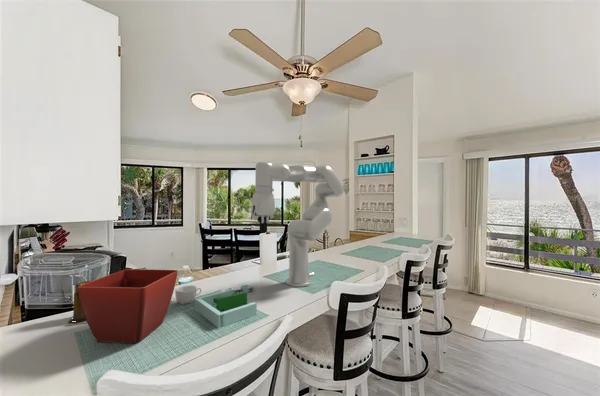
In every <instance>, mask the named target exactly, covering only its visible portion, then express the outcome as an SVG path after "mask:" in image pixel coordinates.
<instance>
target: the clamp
mask: <svg viewBox="0 0 600 396" xmlns="http://www.w3.org/2000/svg"><path fill="white" fill-rule="evenodd" d="M213 302H214V303H216V305H215V307H216V308H215V309H217V310H218V311H220V312H224V311H227V310H231V309H234V308H237V307H240V306H243V305H247V304H249V303H248V293H244V292H238V293H234V294H232V295H230V296H224V297H216V298H213Z"/></svg>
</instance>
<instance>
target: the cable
mask: <svg viewBox="0 0 600 396" xmlns="http://www.w3.org/2000/svg"><path fill="white" fill-rule="evenodd" d="M253 290H254V287H249V292H250V291H253ZM239 292H242V289H241V288H240V289H239V288H238V289H235V293H239Z"/></svg>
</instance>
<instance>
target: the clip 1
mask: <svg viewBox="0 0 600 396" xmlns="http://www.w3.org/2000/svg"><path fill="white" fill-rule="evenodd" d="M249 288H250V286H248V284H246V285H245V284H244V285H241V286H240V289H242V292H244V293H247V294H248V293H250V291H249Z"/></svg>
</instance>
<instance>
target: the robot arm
mask: <svg viewBox="0 0 600 396" xmlns="http://www.w3.org/2000/svg"><path fill="white" fill-rule="evenodd" d="M254 181H255V182H254V183H255V186H254V191H255V192H253V195H252V199H251V206H250V207H251V208H250V215H251V216H252V219H253V220H256V221H258V223H259V233H267V232H268V224H269V221H270V220H271V219H275V216H274V215H275V213H276V212H275V211H276V210H275V209H276V205H275V203H276V202H275V196H274V193H273V192H274V191H275V188H273V182H290V183H312V184H313V183H318V184H317V185H315V189H314V191H315V192H314V193H315V200H314V201H313V202H312V203H311V205H309V207H307V208H306V209H305V210H304V212H303V213H302V215H301V218H302V219H300V218H299V219H294V220H291V221H290V222H289V223H288V226H287V236H288V242H289V248H288V249H289V251H288V253H289V256H288V257H289V259H288V263H289V264H288V278H286V280H285V283H286V285H288V286H290V287H295V288H296V287H298V288H299V287H300V288H301V287H307V286H310V285H311V284H312V280H311V279H310V278H311V277H314V276H315V272H309V243H308V241H311V242H312V241H316V240H318V239H319V238H320V236H321V235H322V234H323V233H325V231H326V230H327V228H328V227H329V226H330V225H331V223H332V218H333V214H332V211H331V210H330V209H329V202H328V198H337V197H340V196H342V195H343V193H344V189H345V188H344V185H343V183H342V181H341V179H340V178H339V176H338V175H337V174H336V172H335V171H334V170H333V168H331V167H330V166H329V165H319V166H317V165H316V166H311V165H300V164H295V165H287V164H284V163H271V162H269V161H268V162H267V161H263V162H262V161H260V162H257V163H256V165H255V180H254Z"/></svg>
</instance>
